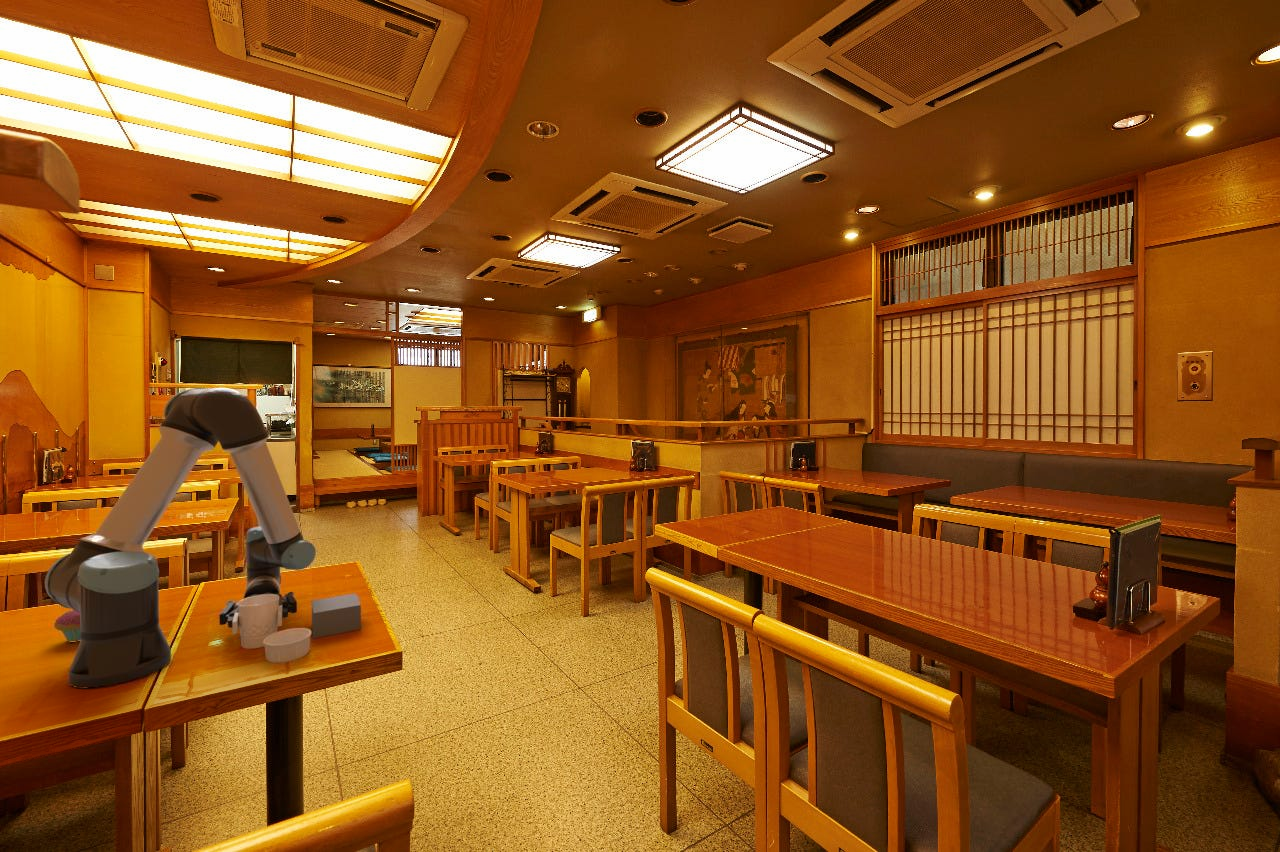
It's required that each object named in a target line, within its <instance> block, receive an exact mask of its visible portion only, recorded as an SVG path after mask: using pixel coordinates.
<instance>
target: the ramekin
mask: <svg viewBox="0 0 1280 852" xmlns="http://www.w3.org/2000/svg"><path fill="white" fill-rule="evenodd" d="M312 634H313V631H312V630H311V629H310V628H306V627H296V628H295V627H294V628H286V629H283V630H280V631H277V632H276V633H273V634H271V635H269V636H267V637H266V638H265V639H264V640H263V644H264V652H265V659H266V661H267V662H268V663H273V664H283V663H287V662H288V663H289V662H292V661H296V660H299V659H300V658H302V657H304V656H306V655H307V654H308V653H309V652H310V647H311V636H312Z"/></svg>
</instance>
